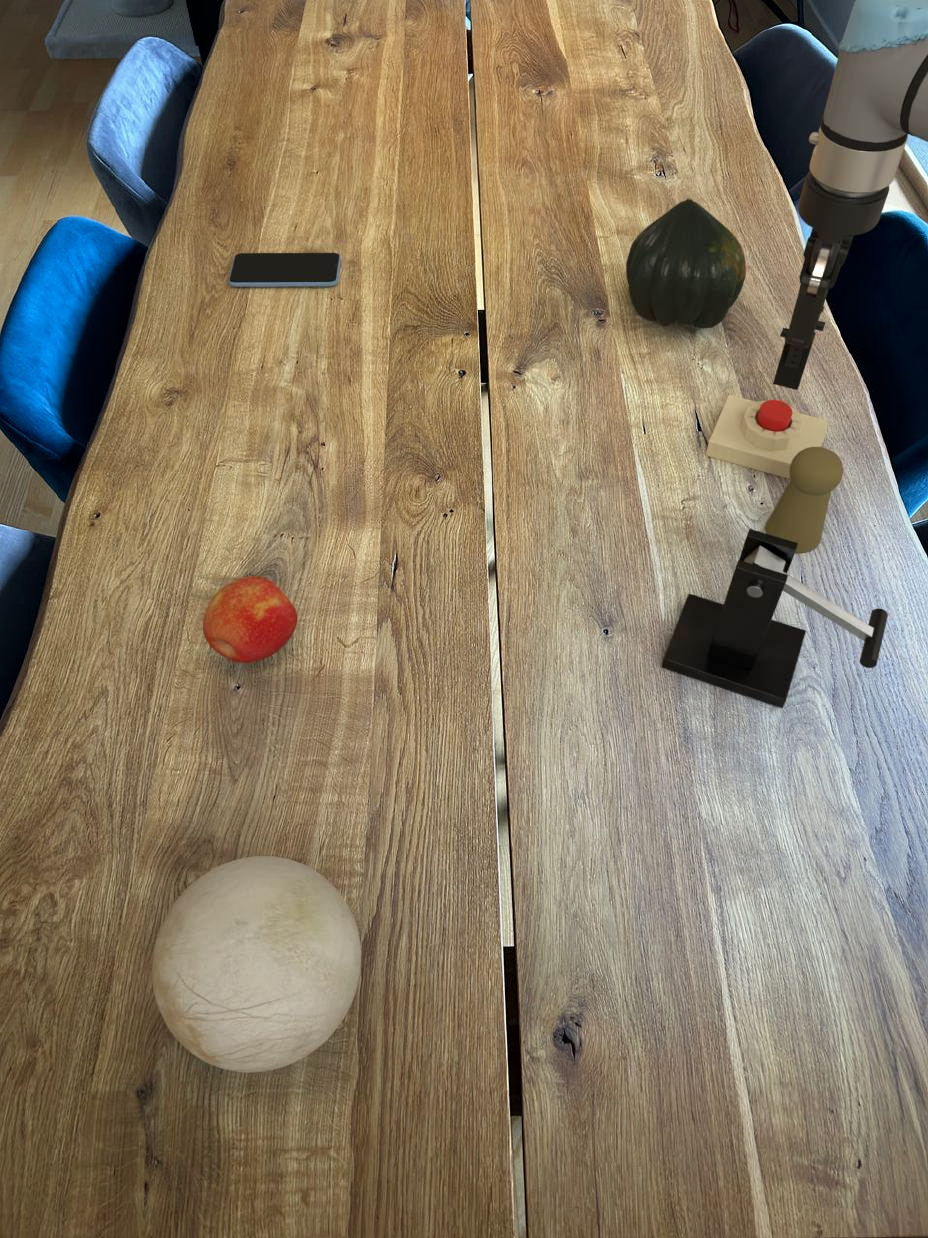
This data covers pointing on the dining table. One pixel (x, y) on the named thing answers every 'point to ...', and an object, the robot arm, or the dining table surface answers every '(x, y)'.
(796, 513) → the olive game pawn
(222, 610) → the apple
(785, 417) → the button
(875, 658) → the lever
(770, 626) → the bracket
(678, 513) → the dining table surface
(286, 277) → the smartphone
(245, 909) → the decorative sphere
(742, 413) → the control block
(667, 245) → the squash
